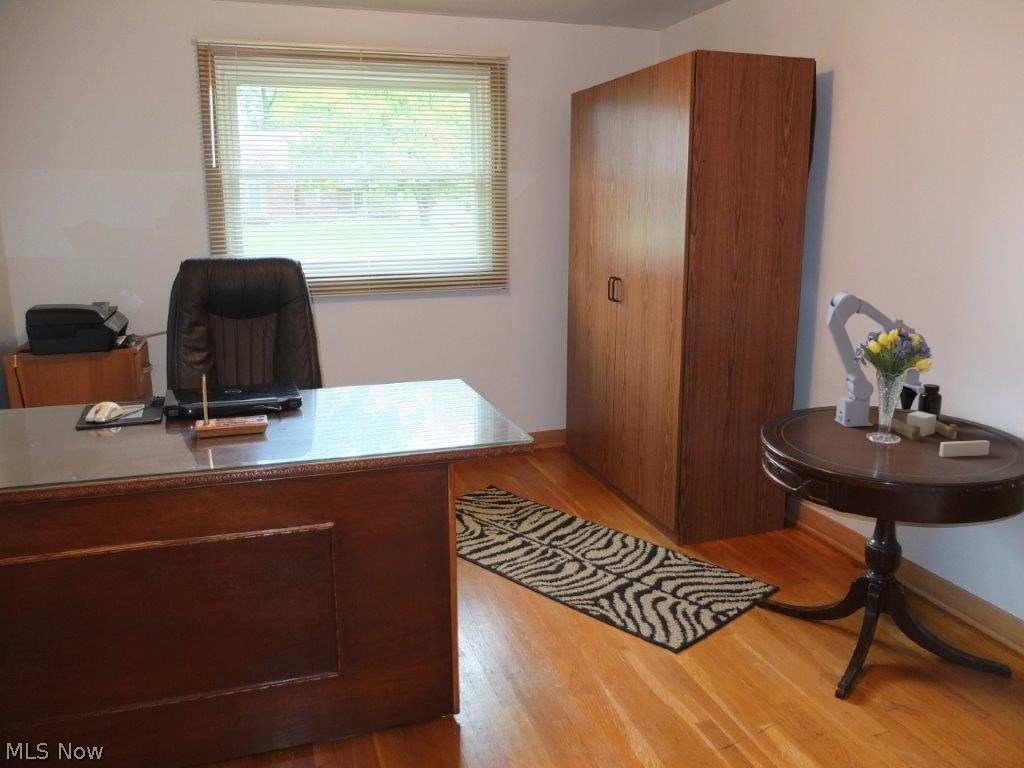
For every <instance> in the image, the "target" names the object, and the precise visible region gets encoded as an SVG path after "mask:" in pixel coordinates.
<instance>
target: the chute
mask: <svg viewBox="0 0 1024 768" xmlns="http://www.w3.org/2000/svg"><path fill="white" fill-rule="evenodd" d="M891 419H892V426H891V428H892V430H893V431H895V432H897V433H899V434H900V433H901V434H900V435H902V434H903V435H902V436H904V437H906V438H908V439H909V438H910V439H909V440H911V441H913V442H919V441H920V435H919V433H920V427H919V426H913V428H912V427H910V426H908V425H906V423H905V422H902V421H900V420H898V419H897V418H891ZM891 428H890V429H891ZM935 432H936V433H937V434H940V435H942V436H944V437H946V438H948V439H950V440H957V432H958V425H957V424H956V423H953V424H951V423H950V424H949V425H947V424H946V423H943V422H941V421H940V420H939V421H937V420H936V424H935Z"/></svg>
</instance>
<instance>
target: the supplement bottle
mask: <svg viewBox="0 0 1024 768" xmlns="http://www.w3.org/2000/svg"><path fill="white" fill-rule="evenodd" d="M922 386H923V387H925V389H924V393H920V394H918V403H917V411H921V412H925V413H929V414H933V415H937V416H936V420H937V421H939V422H940V420H941V419H940V418H941V410H942V404H943V403H942V400H943V396H942V394H940V393H939V392H940V385H938V384H933V383H924V384H923V385H922Z"/></svg>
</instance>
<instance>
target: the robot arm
mask: <svg viewBox="0 0 1024 768" xmlns="http://www.w3.org/2000/svg"><path fill="white" fill-rule="evenodd" d="M828 303H829V304H828V312H827V318H826V324H825V325H826V327H827V329H828V331H829V335H830V338H831V339H832V342H833V344H834V347H835V350H836V352H837V355H838V356H839V359H840V362H841V365H842V368H843V370H844V377H845V385H844V386H845V388H846V389H847V393H846V396H844V397H840V398H839V399H838V400H837V403H836V413H835V414H836V415H835V418H834V421H835V422H837V423H839V424H840V425H842V426H843V427H847V428H849V427H850V428H851V427H870V426H871V427H872V426H874V424H873V423H872V422H870V421H869V416H870V415H869V414H870V403H871V396H872V395H873V393H874V385H873V383H871V381H869V380H868V378H867V377H866V374H865V373H864V371H863V369H862V368H861V366H860V363H859V364H857V363H855V362H854V359H855V357H857V354H856V352H855V350H854V346H853V344H852V341H851V339H850V336H849V334H848V331H847V329H846V324H847V322H848V320H849V319H850V318H851V317H852V316H853V315H854V314H858V315H865V316H867V317H869V318H870V319H871V320H872V321H874V322H876V323H877V324H878V325H880V326H882V332H883V333H884V332H890V331H892V330H893V329H896V328H898V327H902V328H903V329H904V330H905V331H906V332H908V333H910V334H917V335H919V337H920V339H921V340H922V341H923V342H925V343H926V340H925V337H924V336H923V335H922V334H919V333H917V332H916V329H915V328H914V327H910V326H908V325H907V324H905V323H904V320H903V319H902V318H900V317H899V318H897V317H891V318H890V317H888V316H886V314H884V313H883V312H882V311H880V310H879V309H878V308H876V307H875V306H874V305H872V304H871V303H869V302H868V301H865V300H863V299H861V298H859V297H857V296H856V295H854V294H850V293H849V292H848V291H844V290H840V291H838V292H836V293H835V294H834V295H833V296H832V297H831V299H830V301H829V302H828ZM920 374H921V370H920V371H917V370H916V369H910V370H908V371H907V374H906V379H905V383H904V386H903V389H902V392H901V394H900V396H899V398H900V405H901V409H902V410H904V411H909V410H911V409H912V405H913V404H914V401H915V399H916V397H917V396H919V395H920V393H924V389H925V387H923V385H922V381H920Z"/></svg>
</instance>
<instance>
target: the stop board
mask: <svg viewBox="0 0 1024 768" xmlns="http://www.w3.org/2000/svg"><path fill="white" fill-rule="evenodd" d="M990 445H991V441H990V440H986V439H984V440H964V441H963V440H961V441H957V440H956V441H941V442H940V445H939V451H938V456H940V457H941V458H948V457H951V458H952V457H968V456H969V457H970V456H988V455H989V452H990Z"/></svg>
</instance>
